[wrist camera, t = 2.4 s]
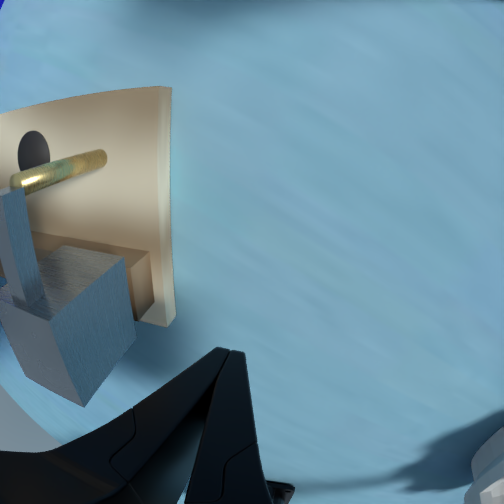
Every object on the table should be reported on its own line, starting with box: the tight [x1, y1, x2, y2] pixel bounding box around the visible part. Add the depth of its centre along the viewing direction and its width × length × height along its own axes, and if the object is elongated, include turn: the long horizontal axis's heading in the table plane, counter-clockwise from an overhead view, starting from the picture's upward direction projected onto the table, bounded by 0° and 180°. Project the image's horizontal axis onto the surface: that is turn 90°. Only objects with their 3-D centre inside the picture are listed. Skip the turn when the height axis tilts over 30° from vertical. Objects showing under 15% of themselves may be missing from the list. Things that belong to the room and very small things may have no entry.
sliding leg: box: [0, 149, 137, 407], centre depth 9 cm, size 7×3×5 cm, turn 177°
